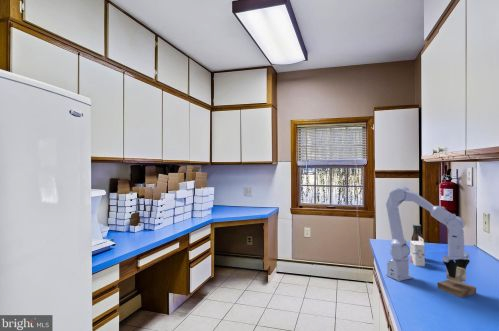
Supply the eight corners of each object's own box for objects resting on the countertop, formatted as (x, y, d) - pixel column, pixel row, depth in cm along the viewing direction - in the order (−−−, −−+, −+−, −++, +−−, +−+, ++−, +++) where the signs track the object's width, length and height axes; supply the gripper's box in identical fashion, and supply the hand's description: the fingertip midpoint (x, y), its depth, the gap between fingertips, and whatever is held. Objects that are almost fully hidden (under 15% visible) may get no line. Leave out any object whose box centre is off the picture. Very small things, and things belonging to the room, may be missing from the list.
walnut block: (460, 298, 120) (460, 291, 120) (437, 289, 130) (437, 282, 130) (476, 294, 124) (476, 287, 124) (452, 285, 133) (452, 278, 133)
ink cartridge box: (409, 260, 166) (409, 235, 166) (419, 261, 165) (419, 235, 165) (415, 266, 158) (414, 239, 158) (425, 266, 157) (424, 239, 157)
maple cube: (458, 282, 124) (458, 270, 124) (446, 278, 128) (446, 267, 128) (465, 280, 126) (465, 269, 126) (454, 276, 130) (454, 265, 130)
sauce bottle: (420, 256, 173) (419, 223, 173) (426, 260, 167) (426, 225, 167) (409, 256, 173) (408, 223, 173) (415, 260, 167) (415, 225, 166)
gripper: (454, 249, 121) (454, 282, 121) (476, 245, 126) (477, 276, 126) (437, 245, 127) (438, 276, 127) (459, 241, 132) (460, 271, 132)
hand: (456, 276), depth 127 cm, fingers closed on maple cube, 5 cm apart
